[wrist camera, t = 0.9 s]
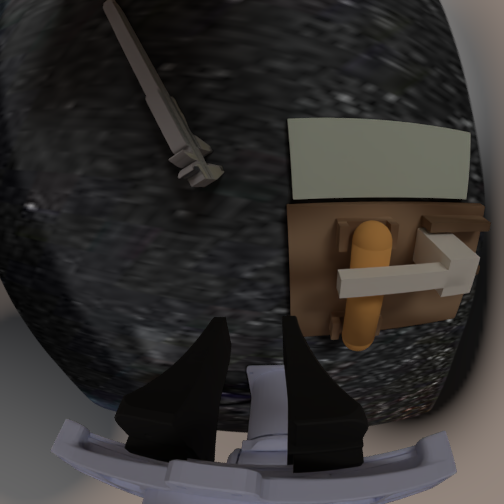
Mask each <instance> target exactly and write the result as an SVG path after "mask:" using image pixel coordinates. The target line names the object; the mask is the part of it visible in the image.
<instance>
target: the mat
mask: <svg viewBox="0 0 504 504" xmlns="http://www.w3.org/2000/svg"><path fill="white" fill-rule="evenodd" d="M287 121H288V133H289V146H290V160H291V176H292V193H293V200H294V199H318V198H356V197H414V198H450V199H466V197H467V188H468V178H469V164H470V133H468V132H464V131H459V130H454V129H448V128H442V127H436V126H430V125H423V124H415V123H407V122H397V121H386V120H373V119H353V118H296V119H287Z"/></svg>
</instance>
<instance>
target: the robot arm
mask: <svg viewBox="0 0 504 504" xmlns="http://www.w3.org/2000/svg"><path fill="white" fill-rule="evenodd" d="M282 326H283V356H284V365H251V366H248V367H247V375H248V381H249V386H250V391H251V397H252V399H251V408H250V418H249V427H248V436H247V440H246V441H245V440H243V442H242V449H239V448H238V449H235V450H234V451H233V452H232V453H231V454H230V455H229V457H228V460H227V463H220V462H214V460H215V443H216V431H217V422H218V413H219V405H220V399H221V394H222V390H223V386H224V382H225V378H226V374H227V370H228V366H229V362H230V353H231V341H230V336H229V331H228V326H227V322H226V317H214V318H213V319H212V320H211V322H210V323H209V325H208V326H207V327H206V329H205V330H204V331H203V333H202V334H201V335H200V337H199V338H198V339H197V340H196V341H195V343H194V344H193V345H192V346H191V347H190V348H189V350H188V351H187V352H186V353H185V354H184V355H183V356H182V357H181V358H180V359H179V360H178V361H177V362H176V363H175V364H174V365H173V366H171V367H170V368H169V369H168V370H167V371H165V372H164V373H163V374H161V375H160V376H159V377H157V378H156V379H155V380H153V381H151V382H150V383H148V384H147V385H145V386H143V387H141V388H140V389H138V390H136V391H134V392H132V393H130V394H127V395H125V396H124V397H123V399H122V401H121V403H120V405H119V408H118V410H117V412H116V415H115V417H114V418H115V421H116V422H117V424H118V425H119V426H120V427H121V428H122V429H123V430H124V431H125V432H126V433H127V434H128V435H129V437H128V440H127V442H126V444H124V443H120V442H117V441H114V440H111V439H107V438H105V437H102V436H99V435H96V434H93V433H91V432H90V431H89V430H88V429H87V428H86V427H85V426H83V425H82V424H80V423H77V422H75V421H73V420H70V419H66V420H65V422H64V424H63V426H62V428H61V430H60V432H59V434H58V436H57V438H56V440H55V442H54V444H53V446H52V448H51V452H52V453H54V454H55V455H56V456H58V457H59V458H60V459H62V460H63V461H65V462H66V463H67V464H69V465H70V466H72V467H73V468H75V469H76V470H78V471H80V472H82V473H84V474H86V475H89V476H91V477H93V478H95V479H97V480H99V481H102V482H104V483H106V484H108V485H111V486H113V487H116V488H118V489H121V490H123V491H126V492H128V493H131V494H134V495H137V496H139V497H142V498H144V499H143V502H142V504H385V503H389V502H392V501H395V500H399V499H402V498H405V497H408V496H411V495H414V494H417V493H420V492H423V491H426V490H428V489H431V488H433V487H435V486H437V485H438V484H440V483H442V482H443V481H445V480H446V479H448V478H449V477H451V476H452V475H454V474H455V473H456V472H457V470H456V466H455V462H454V458H453V454H452V451H451V447H450V444H449V441H448V437H447V435H446V431H441V432H439V433H436V434H433V435H430V436H427V437H424V438H422V439H421V440H419V441H418V442H417V444H416V445H415V446H411V447H407V448H404V449H400V450H396V451H392V452H387V453H383V454H378V455H373V456H369V457H363V451H362V447H363V437H364V435H365V433H366V431H367V430H368V426H369V425H368V421H367V418H366V415H365V412H364V410H363V408H362V406H361V404H359V403H358V402H357V401H355V400H354V399H353V398H352V397H350V396H349V395H348V394H347V393H346V392H345V391H344V390H343V389H341V388H340V387H339V385H338V384H337V383H336V382H335V381H334V380H333V379H332V378H331V377H330V376H329V375H328V373H327V372H326V371H325V370H324V369H323V367H322V366H321V365H320V363H319V362H318V360H317V359H316V357H315V356H314V354H313V353H312V351H311V349H310V347H309V346H308V344H307V342H306V340H305V338H304V336H303V334H302V331H301V329H300V327H299V324H298V320H297V317H296V316H283V319H282Z"/></svg>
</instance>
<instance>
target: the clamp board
mask: <svg viewBox="0 0 504 504" xmlns="http://www.w3.org/2000/svg"><path fill="white" fill-rule="evenodd" d="M484 207H485V206H483V205H481V204H478V203H454V202H403V201H385V202H330V203H304V204H287V223H288V244H289V271H290V310H291V316H296V317H297V320H298V324H299V327H300V329H301V331H302V334H303V336H304V337H305V336H321V335H330V337H331V340H337V339H339V334H342V331H343V324H344V317H345V309H346V301H347V298H339V295H338V291H337V288H336V286H337V273H338V269H350V262H351V249H352V238H353V234H354V231H355V230H356V228H357V227H358V226H359V225H360V224H362V223H363V222H366V221H370V220H374V221H379V222H381V223H383V224H384V225H385V226H386V227H387V228H388V229H389V231H390V233H391V236H392V250H391V257H390V264H389V266H399V265H412V264H415V262H414V261H413V255H414V249H415V243H416V236H417V229H418V228H426V229H427V230H428V231H429V232H430V233H436V232H451V233H452V234H454V235H455V236H456V237H457V238H458V239H460V240H461V241H462V242H463V243H464V244H465V245H466V246H468V247H469V248H470V249H471V250H472V251H473V252H474V253H475V252H476V248H477V244H478V239H479V235H480V231H489V229H490V224H491V223H490V222H489V221H488V220H486V219H485V218H483V214H484ZM479 269H480V266H479V265H478V267H477V270H476V274H478V272H479ZM462 296H463V294H458V295H452V296H445V297H440V295H439V294H438V292H437V291H436V290H435V289H431V290H423V291H414V292H405V293H396V294H386V295H384V297H383V302H382V307H381V311H380V316H379V320H378V324H377V329H376V333H375V336H376V335H379V332H380V330H383V329H391V328H398V327H405V326H412V325H418V324H424V323H430V322H436V321H441V320H446V319H451V318H455V315H456V312H457V310H458V307H459V304H460V302H461V299H462Z"/></svg>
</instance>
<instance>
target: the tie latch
mask: <svg viewBox="0 0 504 504" xmlns="http://www.w3.org/2000/svg"><path fill="white" fill-rule="evenodd" d="M479 260H480V257H479V256H478V255H477V254H475V253H474V252H473V251H472V250H471V249H470V248H469V247H468V246H466V245H465V244H464V243H463V242H462V241H461V240H460V239H458V238H457V237H456V236H455V235H454V234H452V233H451V232H436V233H430V232H429V231H428V230H427V229H426V228H418V229H417V236H416V243H415V249H414V255H413V261H414V262H415V264H412V265H399V266H385V267H370V268H354V269H338V273H337V286H336V288H337V291H338V295H339V298H351V297H364V296H375V295H386V294H396V293H405V292H414V291H423V290H431V289H435V290H436V291H437V292H438V294H439V295H440V297H445V296H452V295H458V294H464V293H469V292H470V289H471V286H472V283H473V280H474V277H475V274H476V270H477V267H478V263H479Z"/></svg>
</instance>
